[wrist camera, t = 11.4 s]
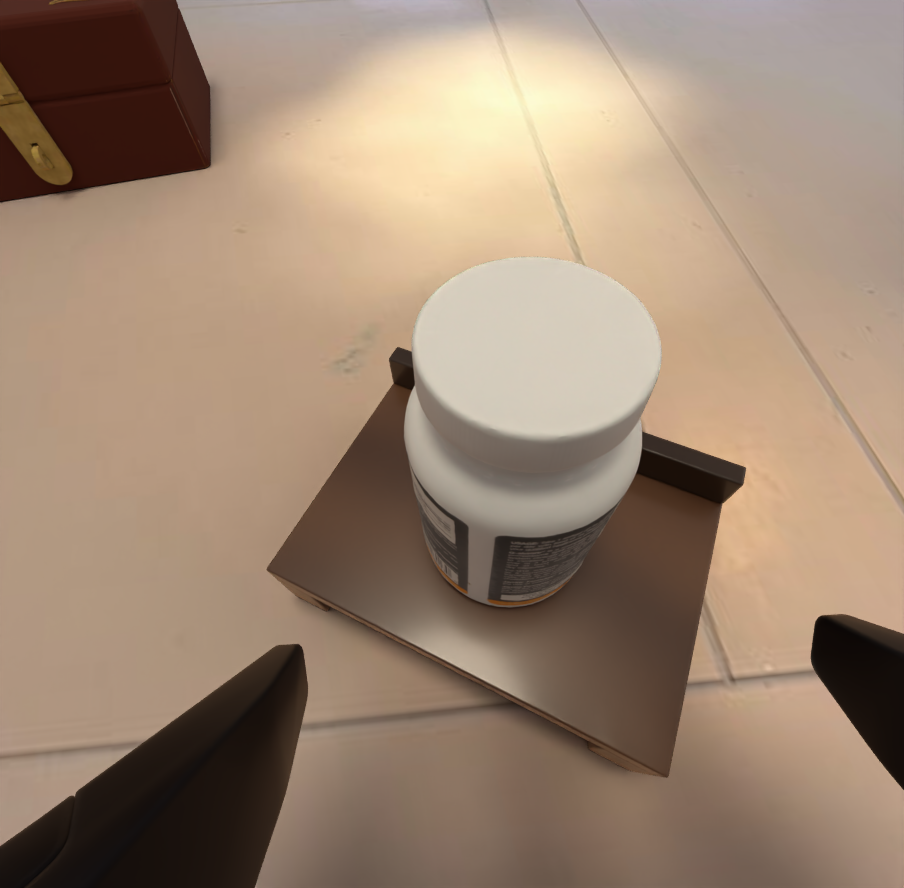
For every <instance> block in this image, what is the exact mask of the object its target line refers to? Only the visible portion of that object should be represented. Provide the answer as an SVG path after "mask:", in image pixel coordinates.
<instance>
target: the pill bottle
mask: <svg viewBox="0 0 904 888" xmlns="http://www.w3.org/2000/svg"><path fill="white" fill-rule="evenodd" d="M661 359H662V348H661V341H660V337H659V334H658V331H657V327H656V325H655V323H654V321H653V319H652V317H651V316H650V314H649V312H648V311H647V309H646V308H645V306H644V305H643V304H642V302H641V301H640V300H639V299H638V298H637V297H636V296H635V295H634V294H633V293H632V292H630V291H629V290H628V289H627V288H625V287H624V286H623V285H621V284H620V283H619V282H617V281H616V280H614V279H612V278H610V277H609V276H607V275H605V274H603V273H601V272H599V271H597V270H594V269H592V268H589V267H587V266H584V265H581V264H577V263H574V262H570V261H566V260H561V259H555V258H547V257H514V258H506V259H500V260H495V261H490V262H486V263H483V264H480V265H477V266H474V267H472V268H469V269H467V270H465V271H463V272H461V273H459V274H457V275H456V276H454V277H453V278H451V279H449V280H448V281H446V282H445V283H444V284H443V285H442V286H440V287H439V288H438V289H437V290H436V291H435V292H434V293H433V294H432V295H431V296H430V297H429V299H428V300H427V301H426V303H425V304H424V306H423V307H422V309H421V310H420V312H419V315H418V317H417V320H416V322H415V325H414V330H413V334H412V360H413V369H414V379H415V386H414V388H413V390H412V392H411V394H410V397H409V400H408V404H407V408H406V414H405V423H404V441H405V447H406V452H407V456H408V460H409V465H410V470H411V475H412V480H413V486H414V491H415V495H416V499H417V504H418V508H419V513H420V517H421V521H422V527H423V532H424V536H425V540H426V544H427V547H428V550H429V553H430V555H431V557H432V559H433V561H434V563H435V565H436V567H437V568H438V570H439V571H440V573H441V574H442V575H443V577H444V578H445V579H446V580H447V581H448V582H449V583H450V584H451V585H452V586H454V587H455V588H456V589H457V590H459V591H460V592H462V593H463V594H464V595H466V596H468V597H469V598H471V599H474V600H476V601H478V602H481V603H484V604H487V605H493V606H497V607H509V608H510V607H519V606H527V605H531V604H534V603H537V602H539V601H542V600H544V599H546V598H548V597H549V596H551V595H553V594H554V593H556V592H557V591H558V590H560V589H561V588H562V587H563V586H564V585H565V584H566V583H567V582H568V581H569V580H570V579H571V577H572V576H573V575H574V573H575V572H576V571H577V570H578V569H579V567H580V566H581V565H582V562H583V560H584V558H585V557H586V555H587V554H588V552H589V550H590V549H591V547H592V546H593V544H594V543H595V541H596V540H597V538H598V537H599V535H600V534H601V532H602V531H603V529H604V527H605V526H606V524H607V522H608V521H609V519H610V517H611V516H612V515H613V513H614V511H615V510H616V508H617V506H618V505H619V503H620V502H621V500H622V498H623V497H624V495H625V493H626V492H627V490H628V488H629V487H630V485H631V483H632V481H633V479H634V477H635V474H636V472H637V469H638V466H639V462H640V456H641V450H642V425H641V420H640V417H641V415H642V413H643V411H644V409H645V406H646V404H647V402H648V400H649V398H650V395H651V393H652V391H653V388H654V386H655V384H656V381H657V378H658V375H659V371H660V367H661Z"/></svg>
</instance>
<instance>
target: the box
mask: <svg viewBox="0 0 904 888" xmlns="http://www.w3.org/2000/svg"><path fill="white" fill-rule="evenodd" d="M209 165H210V86H209V84H208V81H207V79H206V76H205V73H204V71H203V68H202V66H201V63H200V61H199V58H198V56H197V53H196V50H195V48H194V45H193V43H192V40H191V38H190V35H189V32H188V30H187V27H186V25H185V22H184V20H183V17H182V15H181V12H180V9H179V8H178V4H177V2H176V0H0V201H6V200H12V199H18V198H24V197H30V196H37V195H43V194H49V193H55V192H61V191H67V190H73V189H79V188H86V187H92V186H98V185H104V184H110V183H116V182H122V181H129V180H135V179H141V178H147V177H153V176H159V175H165V174H171V173H178V172H184V171H190V170H196V169H202V168H206V167H208V166H209Z"/></svg>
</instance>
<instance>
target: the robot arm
mask: <svg viewBox="0 0 904 888" xmlns="http://www.w3.org/2000/svg"><path fill="white" fill-rule="evenodd" d="M811 662H812V666H813V668H814V670H815V672H816V674H817V675H818V677H819V678H820V679H821V681H822V682H823V684H824V685H825V686H826V688H827V689H828V690H829V692H830V693H831V695H832V696H833V697H834V699H835V700H836V702H837V703H838V704H839V706H840V707H841V709H842V710H843V711H844V713H845V714H846V716H847V717H848V718H849V720H850V721H851V723H852V724H853V725H854V727H855V728H856V729H857V731H858V732H859V734H860V735H861V736H862V738H863V739H864V741H865V742H866V743H867V745H868V746H869V747H870V749H871V750H872V751H873V753H874V754H875V755H876V757H877V758H878V759H879V761H880V762H881V763H882V764H883V766H884V767H885V768H886V769H887V771H888V772H889V773H890V774H891V776H892V777H893V778H894V779H895V780H896V782H897V783H898V784H899V785H900V786H901V788H902V789H903V790H904V634H902V633H899V632H896V631H894V630H891V629H888V628H885V627H882V626H879V625H876V624H873V623H870V622H867V621H864V620H861V619H858V618H855V617H852V616H849V615H844V614H837V615H822V616H820V617H818V619H817V620H816V622H815V627H814V634H813V642H812V650H811ZM307 696H308V682H307V675H306V667H305V660H304V653H303V649H302V647H301V646H300V645H299V644H290V645H278V646H275V647H274V648H272V649H271V650H270V651H268V652H267V653H266V654H264V655H263V656H261V657H260V658H259V659H257V660H256V661H255V662H253V663H252V664H251V665H249V666H248V667H246V668H245V669H244V670H242V671H241V672H240V673H238V674H237V675H235V676H234V677H233V678H231V679H230V680H229V681H227V682H226V683H224V684H223V685H222V686H220V687H219V688H218V689H216V690H215V691H214V692H212V693H211V694H209V695H208V696H207V697H205V698H204V699H203V700H201V701H200V702H198V703H197V704H196V705H194V706H193V707H192V708H190V709H189V710H188V711H186V712H185V713H183V714H182V715H181V716H179V717H178V718H177V719H175V720H174V721H172V722H171V723H170V724H168V725H167V726H166V727H164V728H163V729H161V730H160V731H159V732H157V733H156V734H155V735H153V736H152V737H151V738H149V739H148V740H146V741H145V742H144V743H142V744H141V745H140V746H138V747H137V748H135V749H134V750H133V751H131V752H130V753H129V754H127V755H126V756H124V757H123V758H122V759H120V760H119V761H118V762H116V763H115V764H113V765H112V766H111V767H109V768H108V769H107V770H105V771H104V772H103V773H101V774H100V775H98V776H97V777H96V778H94V779H93V780H92V781H90V782H89V783H87V784H86V785H85V786H83V787H82V788H81V789H79V790H78V791H77V792H76V795H75V797H74V796H69V797H68V798H67V799H65V800H64V801H63V802H61V803H60V804H59V805H57V806H56V807H54V808H53V809H52V810H50V811H49V812H48V813H46V814H45V815H43V816H42V817H41V818H39V819H38V820H37V821H35V822H34V823H32V824H31V825H29V826H28V827H27V828H25V829H24V830H22V831H21V832H20V833H18V834H17V835H15V836H14V837H13V838H11V839H10V840H8V841H7V842H6V843H4V844H3V845H1V846H0V888H255V885H256V882H257V879H258V876H259V873H260V870H261V867H262V864H263V861H264V858H265V855H266V852H267V849H268V846H269V843H270V840H271V837H272V834H273V831H274V828H275V825H276V822H277V819H278V816H279V813H280V810H281V807H282V803H283V800H284V797H285V794H286V790H287V786H288V782H289V778H290V773H291V769H292V764H293V760H294V755H295V751H296V747H297V742H298V738H299V733H300V729H301V725H302V720H303V716H304V711H305V707H306V702H307Z"/></svg>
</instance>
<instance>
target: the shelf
mask: <svg viewBox="0 0 904 888" xmlns="http://www.w3.org/2000/svg"><path fill="white" fill-rule="evenodd" d="M389 362H390V367H391V372H392V377H393V382H394V384H393V385H392V386H391V388H390V389H389V391H388V392H387V394H386V395H385V397H384V398H383V400H382V401H381V403H380V404H379V405H378V407H377V408H376V410H375V411H374V413H373V414H372V416H371V417H370V419H369V420H368V421H367V423H366V424H365V426H364V427H363V429H362V430H361V432H360V433H359V435H358V436H357V438H356V439H355V440H354V442H353V443H352V445H351V446H350V448H349V449H348V451H347V452H346V454H345V455H344V457H343V458H342V459H341V461H340V462H339V464H338V465H337V467H336V468H335V470H334V471H333V473H332V474H331V476H330V477H329V478H328V480H327V481H326V483H325V484H324V486H323V487H322V489H321V490H320V492H319V493H318V494H317V496H316V497H315V499H314V500H313V502H312V503H311V505H310V506H309V508H308V509H307V511H306V512H305V513H304V515H303V516H302V518H301V519H300V521H299V522H298V524H297V525H296V527H295V528H294V530H293V531H292V532H291V534H290V535H289V537H288V538H287V540H286V541H285V543H284V544H283V546H282V547H281V548H280V550H279V551H278V553H277V554H276V556H275V557H274V559H273V560H272V562H271V563H270V565H269V566H268V567H267V571H268V572H269V573H270V574H272V575H273V576H274V577H275V578H276V579H277V580H278V581H280V582H281V583H282V584H283V585H284V586H285V587H287V588H288V589H289V590H290V591H291V592H292V593H293V594H295V595H296V596H298V597H299V598H301V599H303V600H305V601H307V602H309V603H311V604H313V605H315V606H317V607H318V608H320V609H322V610H324V611H328V610H329V608H330V607H332V608H334V609H336V610H338V611H340V612H342V613H344V614H346V615H348V616H349V617H351V618H353V619H355V620H357V621H359V622H361V623H363V624H365V625H367V626H369V627H371V628H373V629H374V630H376V631H378V632H380V633H382V634H384V635H386V636H388V637H390V638H392V639H394V640H396V641H398V642H399V643H401V644H403V645H405V646H407V647H409V648H411V649H413V650H415V651H417V652H419V653H421V654H422V655H424V656H426V657H428V658H430V659H432V660H434V661H436V662H438V663H440V664H442V665H444V666H446V667H447V668H449V669H451V670H453V671H455V672H457V673H459V674H461V675H463V676H465V677H467V678H469V679H470V680H472V681H474V682H476V683H478V684H480V685H482V686H484V687H486V688H488V689H490V690H492V691H494V692H495V693H497V694H499V695H501V696H503V697H505V698H507V699H509V700H511V701H513V702H515V703H517V704H519V705H520V706H522V707H524V708H526V709H528V710H530V711H532V712H534V713H536V714H538V715H540V716H542V717H543V718H545V719H547V720H549V721H551V722H553V723H555V724H557V725H559V726H561V727H563V728H565V729H567V730H568V731H570V732H572V733H574V734H576V735H578V736H580V737H582V738H584V739H586V740H588V741H589V742H588V749H589V750H591V751H593V752H595V753H597V754H599V755H600V756H602V757H604V758H606V759H608V760H610V761H612V762H614V763H616V764H618V765H619V766H621V767H623V768H625V769H627V770H629V771H632V772H638V773H643V774H649V775H655V776H660V777H668V776H669V771H670V766H671V761H672V756H673V751H674V746H675V741H676V736H677V731H678V726H679V721H680V715H681V710H682V705H683V700H684V695H685V690H686V685H687V680H688V675H689V670H690V665H691V660H692V655H693V650H694V645H695V640H696V635H697V629H698V624H699V619H700V614H701V609H702V604H703V599H704V594H705V589H706V584H707V579H708V574H709V569H710V564H711V559H712V554H713V549H714V543H715V538H716V533H717V528H718V523H719V518H720V513H721V508H722V503H724V502H725V501H726V500H727V499H728V498H730V497H731V496H732V495H733V494H734V493H735V492H736V491H737V490H738V489H739V488H740V487H741V486H742V485H743V483H744V478H745V472H746V468H745V467H743V466H740V465H737V464H734V463H731V462H728V461H726V460H723V459H720V458H717V457H714V456H711V455H708V454H705V453H702V452H700V451H697V450H694V449H691V448H688V447H685V446H682V445H679V444H677V443H674V442H671V441H668V440H665V439H662V438H659V437H656V436H653V435H651V434H648V433H645V432H642V450H641V456H640V462H639V466H638V469H637V472H636V474H635V477H634V479H633V481H632V483H631V485H630V487H629V488H628V490H627V492H626V493H625V495H624V497H623V498H622V500H621V502H620V503H619V505H618V506H617V508H616V510H615V511H614V513H613V515H612V516H611V517H610V519H609V521H608V522H607V524H606V526H605V527H604V529H603V531H602V532H601V534H600V535H599V537H598V538H597V540H596V541H595V543H594V544H593V546H592V547H591V549H590V550H589V552H588V554H587V555H586V557H585V558H584V560H583V562H582V565H581V566H580V567H579V569H578V570H577V571H576V572H575V573H574V575H573V576H572V577H571V579H570V580H569V581H568V582H567V583H566V584H565V585H564V586H563V587H562V588H561V589H560V590H558V591H557V592H556V593H554V594H553V595H551V596H549V597H548V598H546V599H544V600H542V601H539V602H537V603H534V604H531V605H527V606H519V607H510V608H509V607H497V606H493V605H487V604H484V603H481V602H478V601H476V600H474V599H471V598H469V597H468V596H466V595H464V594H463V593H462V592H460V591H459V590H457V589H456V588H455V587H454V586H452V585H451V584H450V583H449V582H448V581H447V580H446V579H445V578H444V577H443V575H442V574H441V573H440V571H439V570H438V568H437V567H436V565H435V563H434V561H433V559H432V557H431V555H430V553H429V550H428V547H427V544H426V540H425V536H424V532H423V527H422V521H421V517H420V513H419V508H418V504H417V499H416V495H415V491H414V486H413V480H412V475H411V470H410V465H409V460H408V456H407V452H406V447H405V441H404V423H405V414H406V408H407V404H408V400H409V397H410V394H411V392H412V390H413V388H414V386H415V379H414V369H413V360H412V352H411V351H408V350H405V349H402V348H400V347H397V348H396V350H395V351H394V352H393V354H392V355H391V357H390V358H389Z"/></svg>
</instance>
